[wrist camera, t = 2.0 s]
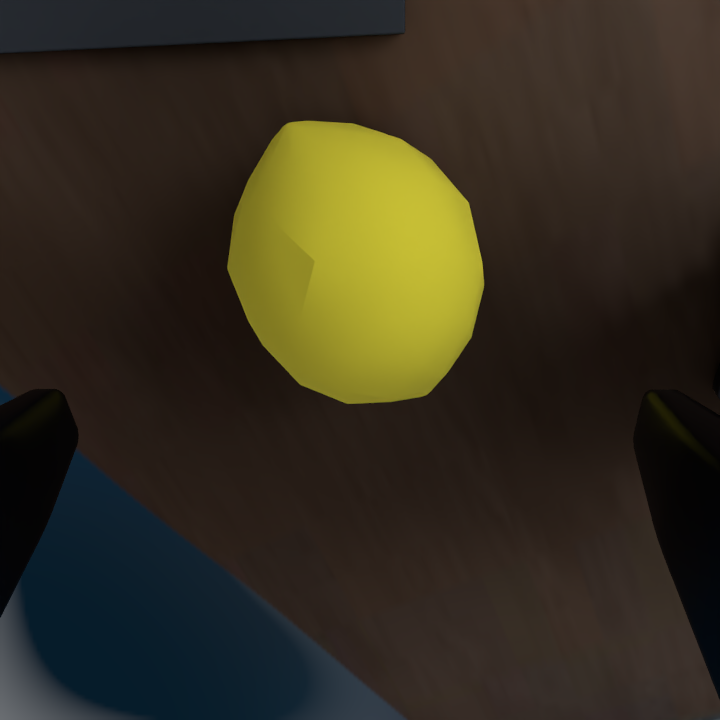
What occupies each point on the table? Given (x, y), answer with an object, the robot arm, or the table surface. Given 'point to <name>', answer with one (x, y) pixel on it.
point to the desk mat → (187, 22)
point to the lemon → (356, 262)
